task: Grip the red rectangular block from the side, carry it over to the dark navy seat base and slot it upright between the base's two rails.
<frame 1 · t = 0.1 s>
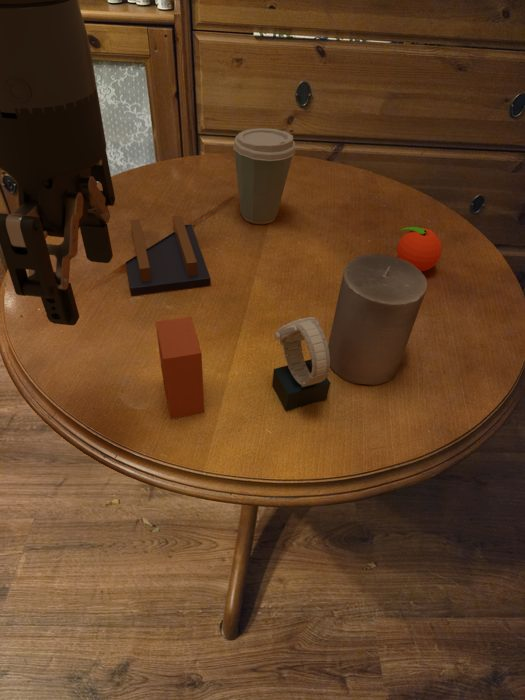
hand: (84, 289, 42), 20 cm above the table, tool pointing down, fingers open, 8 cm apart
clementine: (410, 267, 83), on the table
seat base: (164, 261, 80), on the table
pillar candle: (361, 361, 67), on the table
watch: (298, 393, 62), on the table
disposable coffee cup: (260, 216, 92), on the table
red rectangular block: (183, 396, 60), on the table
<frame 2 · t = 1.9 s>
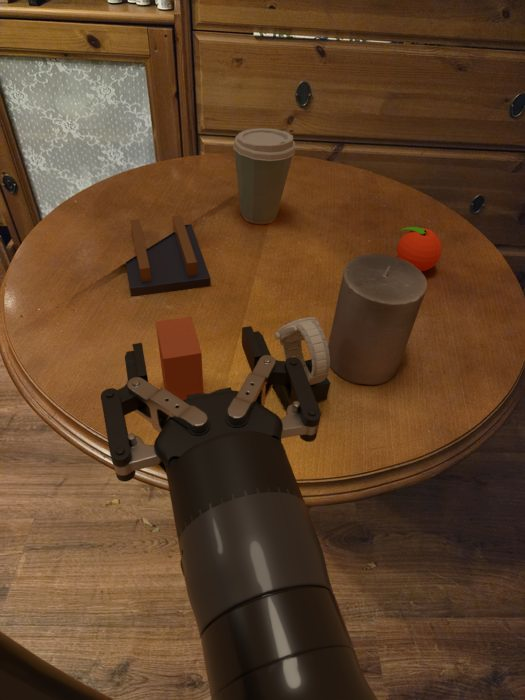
hand: (193, 342, 39), 20 cm above the table, tool horizontal, fingers open, 8 cm apart
nothing on the table moved.
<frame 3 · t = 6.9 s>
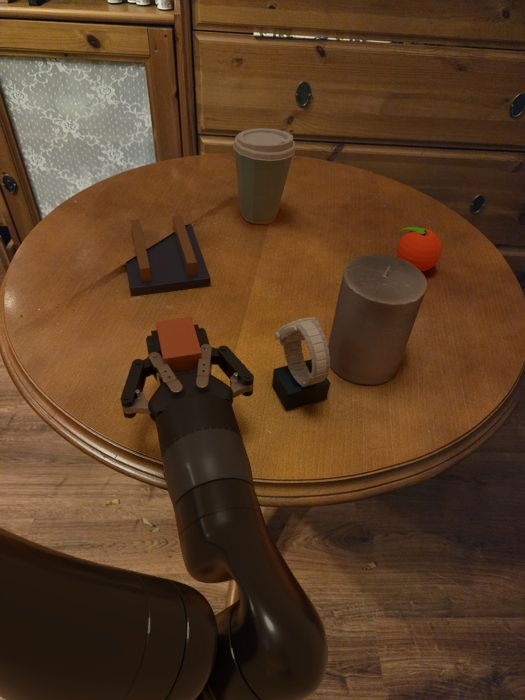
hand: (174, 333, 57), 8 cm above the table, tool horizontal, fingers closed on red rectangular block, 4 cm apart
red rectangular block: (183, 396, 60), on the table, touching gripper
everything else where it was.
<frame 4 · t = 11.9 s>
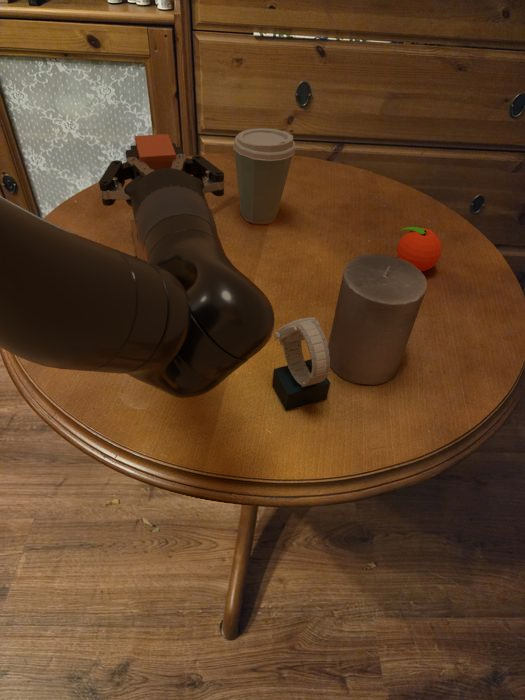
hand: (153, 152, 60), 21 cm above the table, tool horizontal, fingers closed on red rectangular block, 4 cm apart
red rectangular block: (162, 222, 64), point 13 cm above the table, touching gripper
everything else where it was.
when the fingers open (9 cm above the table, at t = 16.7 s): red rectangular block stays where it is, resting on seat base.
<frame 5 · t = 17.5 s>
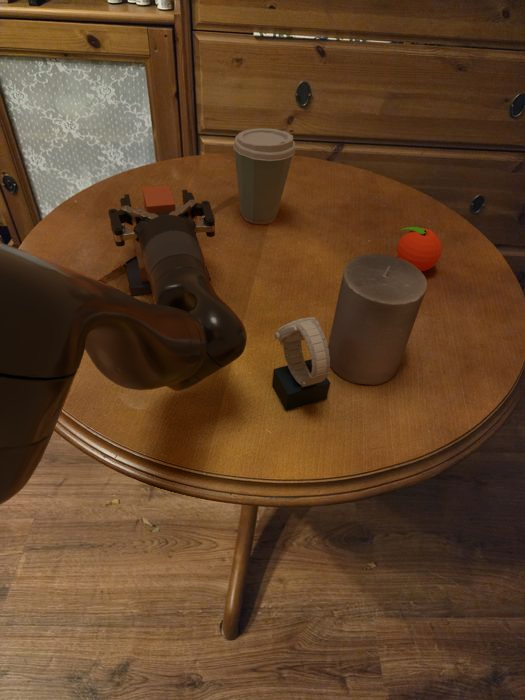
hand: (156, 197, 74), 10 cm above the table, tool horizontal, fingers open, 8 cm apart
red rectangular block: (164, 253, 79), point 1 cm above the table, touching seat base
everything else where it was.
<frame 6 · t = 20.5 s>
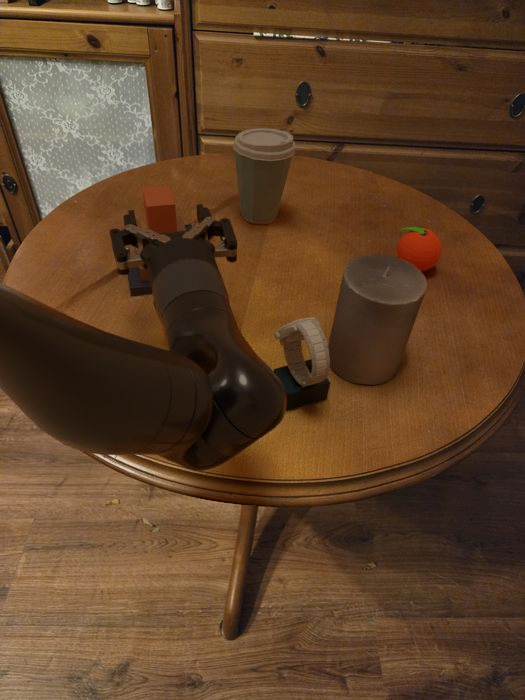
hand: (165, 213, 63), 14 cm above the table, tool horizontal, fingers open, 8 cm apart
nothing on the table moved.
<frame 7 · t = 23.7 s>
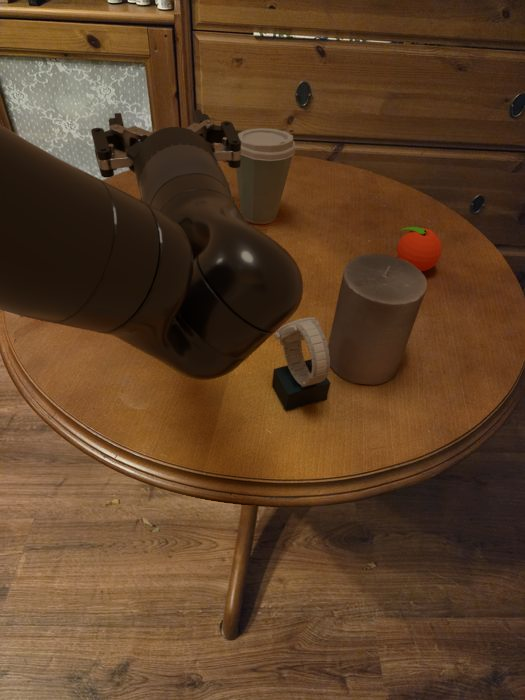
hand: (158, 120, 55), 26 cm above the table, tool horizontal, fingers open, 8 cm apart
nothing on the table moved.
at the end: red rectangular block 0.1 cm off-centre on the seat base, point 1.5 cm above the seat base's base; red rectangular block tilted 0°; the gripper is holding nothing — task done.
